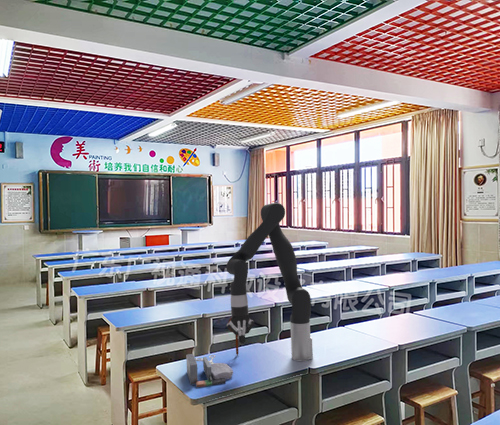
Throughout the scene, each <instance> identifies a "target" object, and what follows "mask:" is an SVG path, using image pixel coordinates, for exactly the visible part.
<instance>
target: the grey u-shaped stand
mask: <svg viewBox="0 0 500 425" xmlns="http://www.w3.org/2000/svg"><path fill="white" fill-rule="evenodd" d="M185 356H186V374H187V377H188V380H189V384H190V386H192V385H195V386H196V388H202V387H203V388H204V387H209V386H216V385H222V384H226V379H224V378H221V379H214V380H213V379H212V381H211V380H208V379H205V380H199V379H198V377H199V375H198V363H197V361H196V359H195V355H194V353H188V354H186V355H185Z"/></svg>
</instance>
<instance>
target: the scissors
mask: <svg viewBox="0 0 500 425" xmlns="http://www.w3.org/2000/svg"><path fill="white" fill-rule="evenodd" d="M208 357H209V359H210V360H208V361H209V363H210V364H214V363H215V362H213V361H214V358H216V355H215V354H210V355H209V356H208ZM195 360H196V362H203V357H196V358H195Z"/></svg>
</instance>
